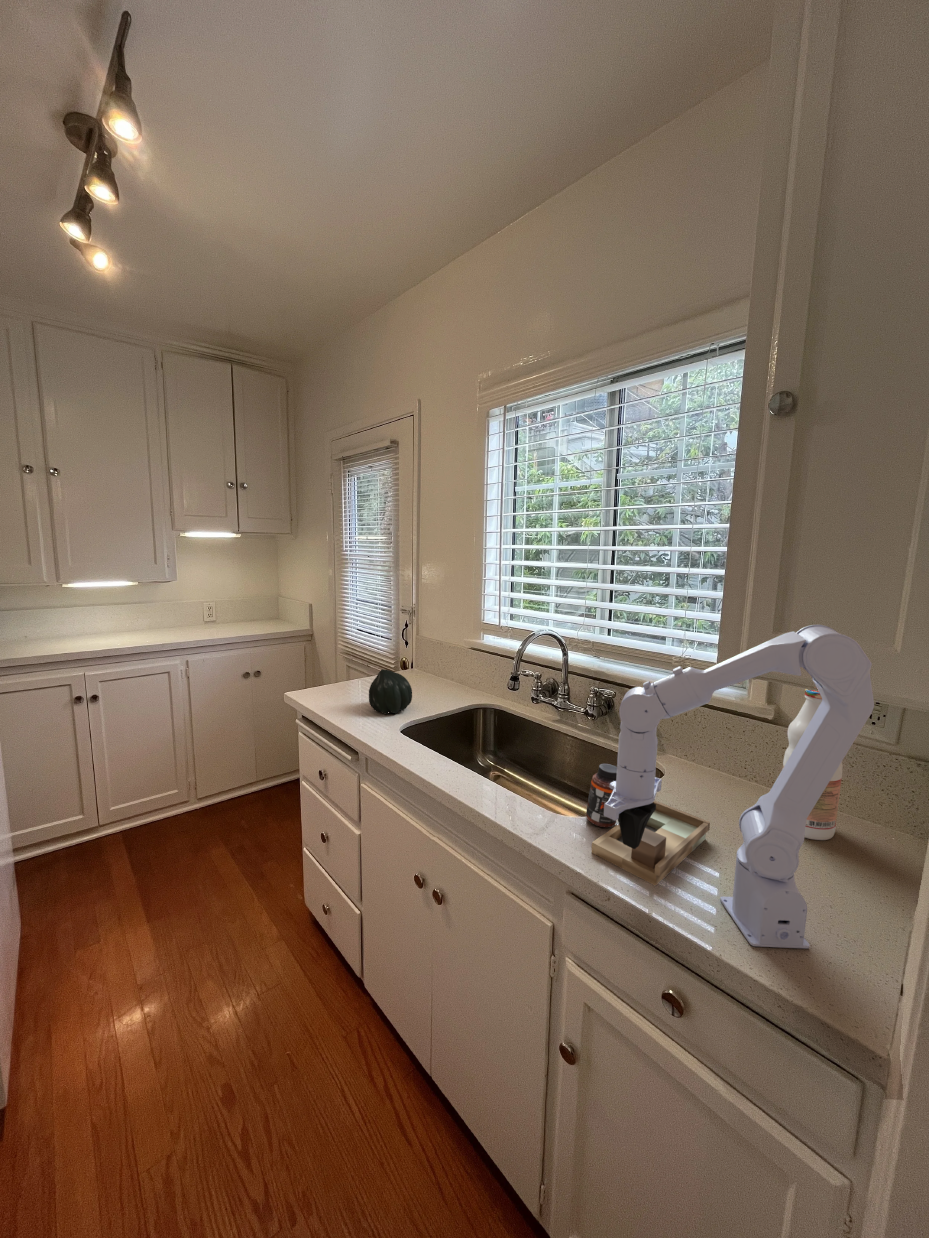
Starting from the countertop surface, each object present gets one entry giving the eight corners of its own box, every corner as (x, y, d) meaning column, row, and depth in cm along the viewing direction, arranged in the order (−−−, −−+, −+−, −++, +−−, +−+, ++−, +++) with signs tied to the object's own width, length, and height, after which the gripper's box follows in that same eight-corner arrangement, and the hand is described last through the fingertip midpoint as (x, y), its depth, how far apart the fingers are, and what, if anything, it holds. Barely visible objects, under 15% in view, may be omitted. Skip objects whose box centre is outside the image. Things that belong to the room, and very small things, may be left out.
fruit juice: (768, 823, 99) (782, 688, 96) (790, 811, 105) (804, 682, 101) (821, 847, 92) (839, 700, 88) (843, 832, 97) (860, 693, 93)
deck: (658, 887, 80) (659, 866, 79) (589, 851, 89) (590, 832, 89) (708, 839, 94) (710, 821, 93) (643, 812, 103) (644, 796, 103)
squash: (427, 694, 167) (403, 658, 171) (399, 707, 155) (373, 668, 158) (403, 715, 174) (381, 680, 178) (374, 729, 162) (351, 691, 165)
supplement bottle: (598, 831, 95) (607, 776, 94) (579, 814, 101) (587, 762, 99) (622, 826, 98) (631, 773, 96) (602, 810, 103) (610, 759, 102)
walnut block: (653, 869, 81) (655, 846, 81) (631, 858, 84) (632, 836, 84) (664, 859, 84) (666, 837, 84) (642, 848, 87) (644, 827, 87)
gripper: (635, 745, 86) (630, 818, 87) (588, 769, 76) (583, 851, 78) (676, 758, 80) (669, 836, 82) (630, 785, 71) (625, 873, 72)
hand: (630, 844), depth 80 cm, fingers closed
